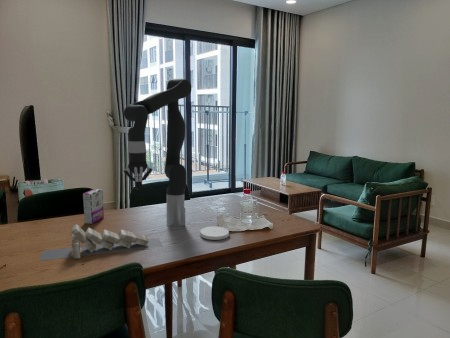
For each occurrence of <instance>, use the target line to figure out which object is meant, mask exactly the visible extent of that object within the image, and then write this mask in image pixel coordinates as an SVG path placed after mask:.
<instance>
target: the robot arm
mask: <svg viewBox="0 0 450 338" xmlns="http://www.w3.org/2000/svg"><path fill="white" fill-rule="evenodd" d="M191 92H192V83H191V82H190V81H189V80H188V79H186V78H171V79H169V80H168V82H167V84H166V90H162V91H159V92H156V93H154V94H152V95H149V96H147V97H146V98H144V99H142V100H140V101H137V102H134V103H130V104H128V105H127V106H126V107H125V109H123V117H124V118H125V120H126V121H129V122H134V124H133V126H132V127H130V128H128V130H127V131H128V133H127V135H128V137H127V139H128V146H127V150H128V153H127V154H128V165H127V167H126V168H124V169H123V172H124V175H126V176H127V177H128V178H129V179H130V181H132V182H134V186H135V189H136V190H137V191H140V190H142V189H143V181H146V180H147V179H148V177H149V176H150V175H151V173H152V171H153V168H152V167H150V166H149V165H148V163H147V146H146V132H145V131H146V128H147V124H148V119H149V115H151V114H153V113H156V111H158V110H161V109H162V108H164V107H165V106H167V123H166V127H167V129H166V157H165V165H164V175H165V176H166V178H167V179H168V187H167V188H166V227H181V226H183V227H186V207H185V190H186V186H187V170H186V167H185V166H184V165H183V164H181V152H182V151H181V150H182V148H183V145H184V142H185V138H186V122H185V120H184V117H183V114H182V113H181V110H180V105H179V104H180V103H179V100H181V99H185V98H188V96H189V95H190V94H191ZM130 171H131V173H132V174H133V175H131V173H130ZM145 171H146V172H145ZM144 173H145V174H144Z"/></svg>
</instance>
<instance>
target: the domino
mask: <svg viewBox="0 0 450 338" xmlns="http://www.w3.org/2000/svg"><path fill="white" fill-rule="evenodd" d="M71 234H72V233H71ZM80 247H81V242H80V241H79V240H78V239H77V238H76V237H75V236H74V235H73V234H72V235H71V248H72V250H73V257H72V258H73V260H77V259H81V256H80Z"/></svg>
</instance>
